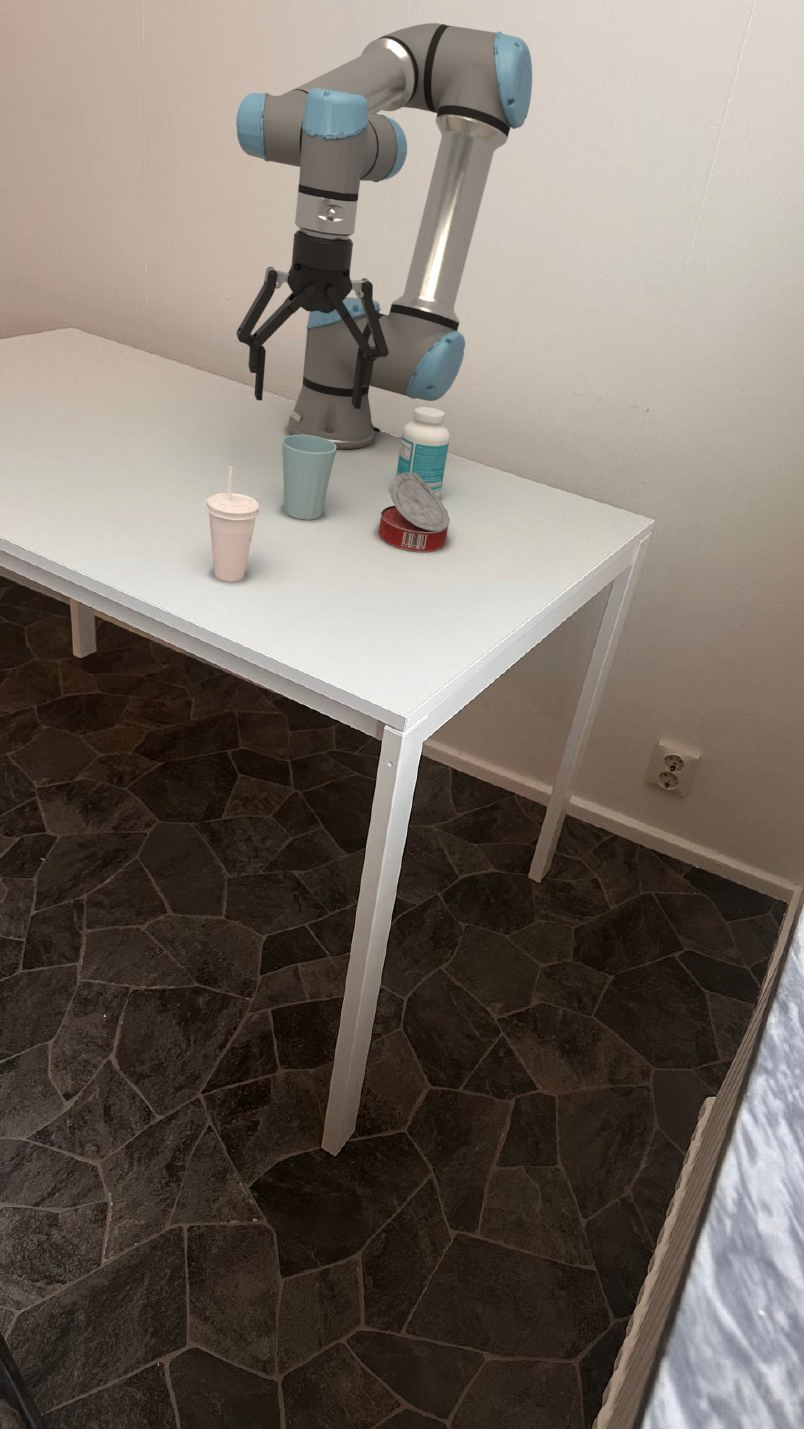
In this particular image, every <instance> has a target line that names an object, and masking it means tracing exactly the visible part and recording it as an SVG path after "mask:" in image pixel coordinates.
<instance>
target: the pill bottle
mask: <svg viewBox="0 0 804 1429" xmlns="http://www.w3.org/2000/svg"><path fill="white" fill-rule="evenodd" d="M444 420H445V412H444V411H442V410H441V409H438V408H435V407H428V406H418V407H416V408H414V411H413V420H412V421H409V422H407V423H406V424H405V425H404V426H403V428H402V430H401V431H402V432H401V439H400V446H399V452H398V461H397V468H396V474H395V478H396V477H397V475H399V474H401V473H404V472H406V471H407V472H409V473H416V474H417V475H418V476H420V477H421V478H422V479H423V480H424V481H425V482H426V484H427V485H428V486H429V487H430V488H431V489H432V490H433V492H434V493H435V494H436V496H437V497H438V498H439V499H440V497H441V492H442V487H443V480H444V475H445V469H446V462H447V457H448V451H449V443H450V438H451V436H450V432H449V430H448V429H447V428H446V427H445V426H444V425H442V424H443V423H444V422H445V421H444Z"/></svg>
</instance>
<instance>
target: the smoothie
mask: <svg viewBox="0 0 804 1429" xmlns="http://www.w3.org/2000/svg"><path fill="white" fill-rule="evenodd" d="M233 472H234V467H233V466H228V467H227V481H226V482H227V483H226V492H220V493H215V494H212V495H210V496H209V497H208V498H207V499H206V506H205V508H206V511H207V512H208V516H209V529H210V539H211V551H212V554H211V555H212V564H213V565H212V566H213V576H214V577H215V578H216V579H218V580H220V581H222V582H223V581H224V582H229V583H230V582H231V583H234V582H239V581H242V580H243V579H244V578H245V573H246V569H247V564H248V558H249V554H250V548H251V543H252V538H253V534H254V529H255V524H256V518H257V517H258V516H259V515H260V503H259V502H258V501H257V499H255V498H253V497H251V496H248V495H246V494H242V493H237V492H236V493H235V492H233V476H234V475H233V474H234V473H233Z"/></svg>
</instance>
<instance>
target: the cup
mask: <svg viewBox="0 0 804 1429" xmlns="http://www.w3.org/2000/svg"><path fill="white" fill-rule="evenodd" d="M281 448H282V449H281V450H282V451H281V452H282V453H281V454H282V475H283V476H282V478H283V480H282V481H283V511H284V513H285V514H286V515H287V516H289V517H291V518H294V519H296V520H303V521H305V520H306V521H310V520H316V519H317V520H318V519H319V518H321V517H322V514H323V509H324V505H325V502H326V501H325V500H326V496H327V492H328V487H329V483H330V479H331V474H332V469H333V465H334V461H335V457H336V452H337V449H336V448H337V447H336V445H335V444H334V443H333V442H331V441H329V440H327V439H324V438H321V437H317V436H311V435H291V434H290V435H287V436H285V437H283V438H282V441H281Z"/></svg>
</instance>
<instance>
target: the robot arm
mask: <svg viewBox="0 0 804 1429" xmlns="http://www.w3.org/2000/svg"><path fill="white" fill-rule="evenodd" d="M532 89H533V63H532V56H531V52H530V49H529V46H528V44H527V43H526V42H525V41H524V39H522V38H521V37H518V36H514V35H510V34H505V33H503V32H501V31H497V32H494V31H487V30H480V29H475V28H468V27H463V26H457V25H456V26H455V25H447V24H445V23H438V22H434V23H433V22H432V23H431V22H430V23H428V22H427V23H422V24H416V25H412V26H409V27H404V28H401V29H397V30H395V31H392V32H389V33H386V34H384V35H382V36H380V37H378V38H375V39H374V40H372V41H370V42H369V43H368V44H366V46H365V47H364V49H363V50H362V52H361V54H360V55H359V56H358V57H356V58H353V59H352V60H349V61H347V62H345V63H343V64H341V65H339V66H337V67H335V68H333V69H331V70H329V71H328V72H325V73H323V74H321V75H319V76H318V77H317V76H316V77H315V78H313V79H311V80H309V81H307V82H305V83H303V84H301V85H299V86H297V87H295V88H293V89H291V90H289V91H287V92H284V93H282V94H280V95H272V94H269V93H267V92H264V93H261V92H260V93H259V92H250V93H248V94H247V95H246V96H245V97H243V99H241V100H242V101H241V102H240V104H239V106H238V110H237V114H236V120H235V126H236V137H237V141H238V144H239V146H240V148H241V150H242V151H243V152H244V153H245V154H246V155H248V156H251V157H255V158H257V159H261V160H263V161H264V162H272V163H278V164H283V165H287V166H294V167H298V168H299V177H298V178H299V179H298V187H297V188H298V189H297V198H296V206H295V207H296V208H295V221H294V225H295V226H296V227H297V228H298V230H296V231H295V232H294V234H293V243H292V244H293V245H292V256H291V264H290V268H289V271H288V272H286V271H281V270H277V269H276V268H274V267H273V266H268V267H267V268H266V269H265V275H264V280H263V285H262V286H261V288H260V289H259V292H258V293H257V295H256V296H255V298H254V300H253V302H252V304H251V305H250V306H249V309H248V311H247V312H246V314H245V316H244V317H243V320H242V321H241V323H240V325H239V326H238V328H237V330H236V332H235V333H236V337H237V339H238V342H239V343H242V344H245V345H247V346H248V348H249V351H248V370H249V372H250V373H251V374H255V381H254V397H255V400H256V401H261V402H262V401H263V395H264V382H265V368H266V353H267V351H266V349H265V346H264V344H265V343H266V342H267V341H268V340H269V339H270V338H271V337H272V336H273V335H274V333H276V332H277V331H278V329H279V328H281V326H282V325H284V323H285V322H286V321H287V320H288V319H289V318H290V317H291V316H292V315H293V314H296V312H297V311H298V310H299V309H300V308H302V309H303V310H305V312H309V314H308V320H307V325H306V336H305V337H306V339H305V348H304V349H305V350H304V363H303V374H302V383H301V384H302V385H301V389H300V392H299V393H298V397H297V399H296V402H295V405H294V409H291V412H290V415H289V418H288V423H287V431H288V433H289V435H290V436H291V435H311V436H317V437H321V438H324V439H327V440H329V441H331V442H333V443H334V444H335V445H336V447H337V448H336V450H351V449H352V450H353V449H354V450H355V449H361V448H365V447H367V446H370V445H371V444H372V443H373V440H374V433H375V432H376V433H380V432H381V429H380V428H378V427H377V426H374V423H373V422H372V413H371V406H370V400H369V391H370V387H372V388H376V389H380V390H384V391H386V392H387V391H388V392H391V393H395V394H398V395H402V396H405V397H407V398H410V399H413V400H415V399H417V400H422V401H428V402H434V401H437V400H440V399H441V398H443V396H444V395H446V393H447V392H448V391H449V390H450V389H451V387H452V386H453V384H454V383H455V380H456V378H457V377H458V374H459V371H460V369H461V366H462V363H463V361H464V356H465V348H466V340H465V339H466V338H465V336H464V334H462V333H461V332H460V331H458V330H459V327H460V322H461V321H460V319H459V316H458V315H457V312H456V311H455V305H456V301H457V297H458V293H459V290H460V285H461V282H462V279H463V274H464V270H465V266H466V262H467V259H468V254H469V251H470V246H471V242H472V239H473V235H474V231H475V228H476V223H477V219H478V216H479V212H480V208H481V205H482V200H483V198H484V193H485V189H486V186H487V185H486V184H487V181H488V177H489V173H490V170H491V167H492V166H491V165H492V161H493V158H494V155H495V154H494V153H495V151H497V150H498V149H499V148H501V147H503V146H504V145H506V143H507V142H508V138H509V134H510V130H511V129H513V130H517V129H520V128H521V127H522V126H523V125H524V123H525V121H526V119H527V117H528V115H529V114H528V113H529V109H530V105H531V98H532ZM402 108H407V109H415V110H416V109H417V110H421V111H426V112H430V113H435V114H436V116H435V124H436V126H437V128H438V130H439V132H440V134H441V135H440V136H441V138H440V142H439V146H438V151H437V154H436V158H435V162H434V167H433V171H432V175H431V178H430V183H429V187H428V190H427V196H426V200H425V203H424V208H423V212H422V215H421V220H420V224H419V228H418V233H417V236H416V241H415V245H414V249H413V253H412V257H411V262H410V265H409V270H408V274H407V278H406V281H405V282H406V283H405V287H404V291H403V293H402V294H401V296H400V297H398V298H396V299H395V300H394V301H392V302H391V305H390V308H389V313H388V314H384V313H380V311H381V305H380V303H379V301H377V300H374V299H373V296H374V287H373V286H374V285H373V283H372V282H371V281H370V279H368V278H366V277H364V278H362V279H361V280H360V279H359V280H352V279H351V265H352V259H353V258H352V256H353V250H354V249H353V248H354V242H353V240H352V239H351V238H350V237H351V236H353V235H354V234H355V230H356V221H357V211H358V210H357V209H358V201H359V194H360V184H361V182H362V181H363V182H366V181H367V182H373V183H379V182H383V181H386V180H390V179H391V178H393V177H395V176H396V175H397V174H398V173H399V172H400V171H401V170H402V168H403V166H404V165H405V162H406V159H407V156H408V142H407V137H406V134H405V132H404V130H403V128H402V127H401V125H400V124H399V123H398V122H397V121H396V120H394V119H393V118H391V117H388V116H386V115H385V114H379V113H380V112H382V111H383V112H393V111H394V112H395V111H398V110H400V109H402ZM284 283H287V285H288V287H289V290H290V291H291V293H290V294H289V295H288V297H286V298H285V300H284V301H283V303H281V305H279V307H278V308H277V309H276V310H275V311H274V312H273V313H272V314H271V315H270V316H269V317H268V318H267V319H266V320H265V321H264V322H263V323H262V325H261V326H259V327H258V329H256V330H255V332H254V333H252V332H253V330H254V329H255V327H256V325H257V323H258V322H259V320H260V318H261V317H262V315H263V313H264V311H265V310H266V308H267V306H268V305H269V304H270V303H269V302H270V301H271V300H272V298H273V296H274V294H275V291H276V290H278V289H280V288H281V287H282V285H283V284H284ZM352 291H354V294H355V296H356V297H349V294H350V293H351V292H352Z"/></svg>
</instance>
